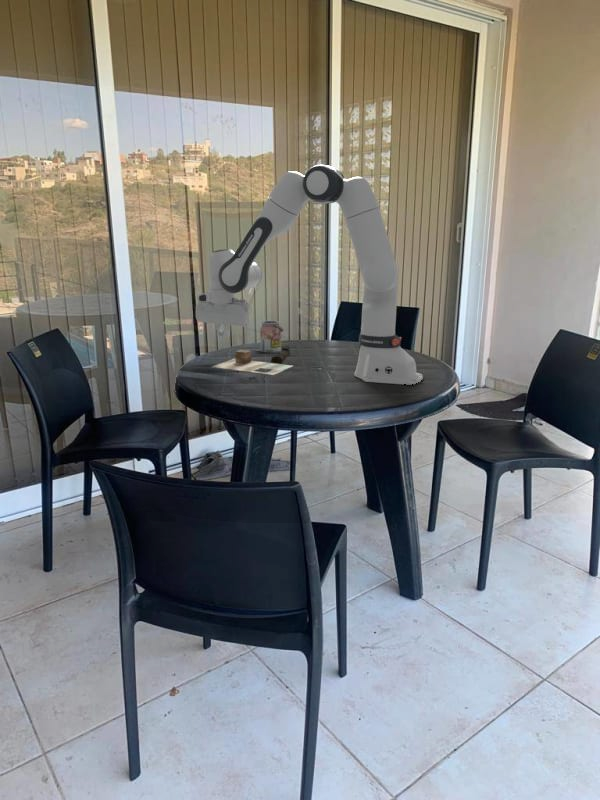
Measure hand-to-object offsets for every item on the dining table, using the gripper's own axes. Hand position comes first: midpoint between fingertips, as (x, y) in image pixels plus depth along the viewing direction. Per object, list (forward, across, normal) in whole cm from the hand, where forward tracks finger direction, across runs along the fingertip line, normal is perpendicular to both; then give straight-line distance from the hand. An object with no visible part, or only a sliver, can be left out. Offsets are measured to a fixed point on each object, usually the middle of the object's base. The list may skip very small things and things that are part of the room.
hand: (222, 336), depth 204 cm
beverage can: (+10, -6, -28) cm, 30 cm away
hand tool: (+10, -16, -14) cm, 24 cm away
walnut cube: (+8, -8, 0) cm, 12 cm away
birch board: (+10, -14, +4) cm, 18 cm away
